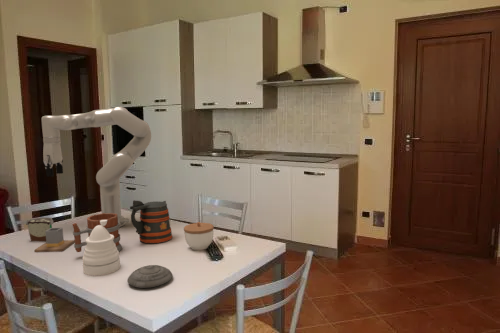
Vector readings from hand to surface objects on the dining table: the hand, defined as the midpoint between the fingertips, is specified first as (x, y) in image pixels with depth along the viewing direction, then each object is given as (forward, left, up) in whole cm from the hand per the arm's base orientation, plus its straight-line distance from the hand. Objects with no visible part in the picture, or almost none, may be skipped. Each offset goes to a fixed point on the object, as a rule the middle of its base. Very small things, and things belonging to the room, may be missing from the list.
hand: (55, 174), depth 192 cm
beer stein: (-52, +21, -29) cm, 63 cm away
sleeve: (-11, +27, -27) cm, 40 cm away
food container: (0, +16, -28) cm, 33 cm away
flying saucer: (-62, +65, -29) cm, 94 cm away
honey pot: (-41, +53, -29) cm, 73 cm away
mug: (-33, +35, -29) cm, 56 cm away
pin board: (-11, +27, -28) cm, 41 cm away
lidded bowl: (-75, +32, -28) cm, 86 cm away
